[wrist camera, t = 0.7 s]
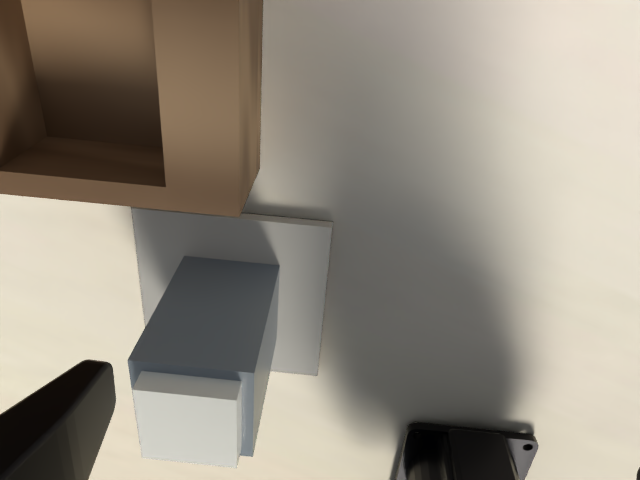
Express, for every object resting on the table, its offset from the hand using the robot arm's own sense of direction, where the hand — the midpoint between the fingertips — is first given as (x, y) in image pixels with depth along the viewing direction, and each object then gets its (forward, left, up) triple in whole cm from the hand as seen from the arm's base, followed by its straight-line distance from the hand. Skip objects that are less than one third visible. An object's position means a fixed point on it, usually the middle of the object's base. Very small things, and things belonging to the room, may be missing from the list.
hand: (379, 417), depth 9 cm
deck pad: (-7, +5, -13) cm, 15 cm away
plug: (-7, +5, -12) cm, 15 cm away
